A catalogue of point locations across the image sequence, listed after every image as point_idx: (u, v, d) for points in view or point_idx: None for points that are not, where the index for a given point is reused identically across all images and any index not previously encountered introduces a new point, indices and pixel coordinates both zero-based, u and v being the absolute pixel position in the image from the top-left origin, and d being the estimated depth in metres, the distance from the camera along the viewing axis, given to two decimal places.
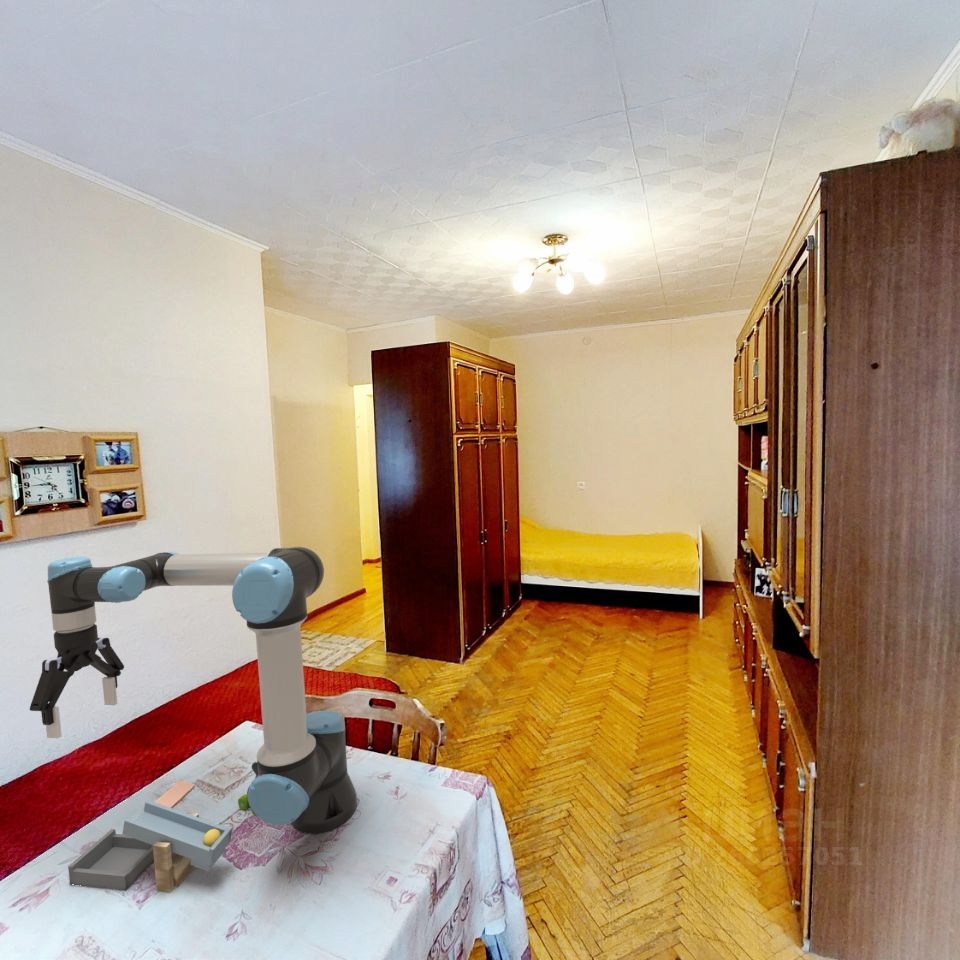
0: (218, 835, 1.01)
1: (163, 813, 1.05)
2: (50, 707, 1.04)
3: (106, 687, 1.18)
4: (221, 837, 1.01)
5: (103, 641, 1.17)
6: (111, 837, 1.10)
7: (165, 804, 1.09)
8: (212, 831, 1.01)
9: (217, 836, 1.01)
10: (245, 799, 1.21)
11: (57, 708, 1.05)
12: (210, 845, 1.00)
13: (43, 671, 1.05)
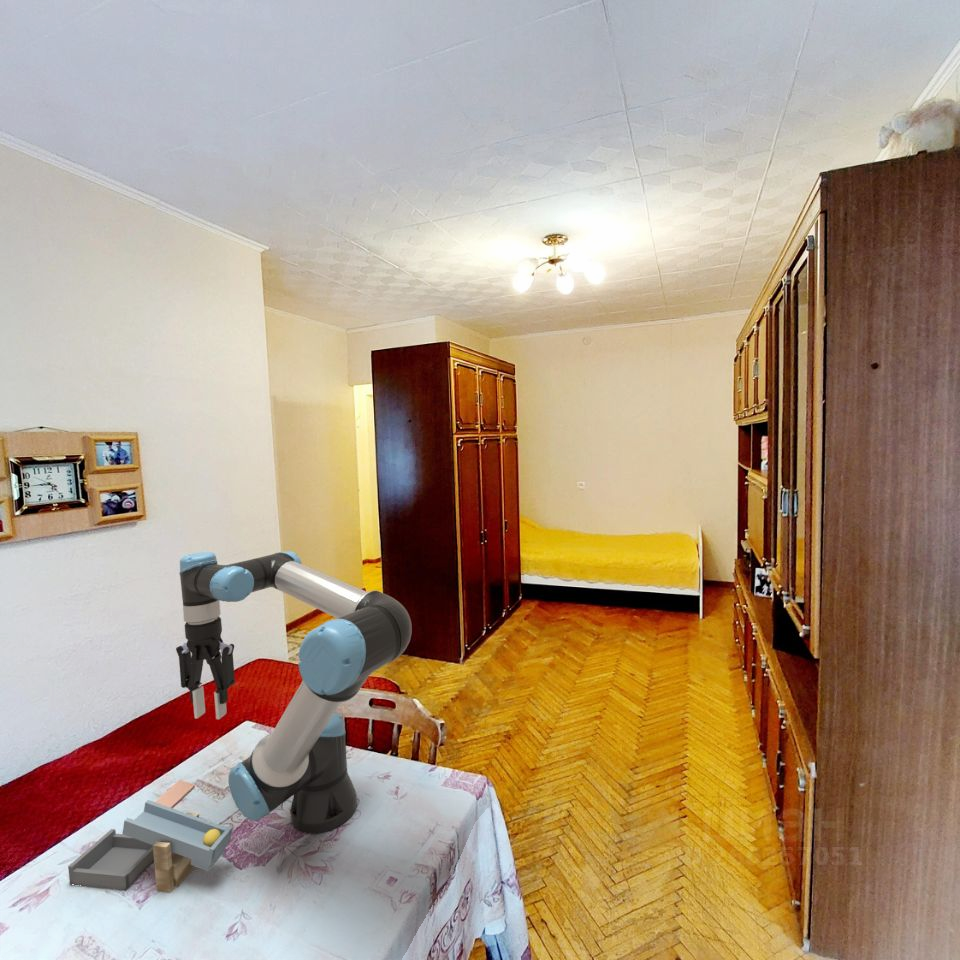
0: (218, 835, 1.01)
1: (163, 813, 1.05)
2: (189, 689, 1.17)
3: None
4: (221, 837, 1.01)
5: None
6: (111, 837, 1.10)
7: (165, 804, 1.09)
8: (212, 831, 1.01)
9: (217, 836, 1.01)
10: None
11: (194, 692, 1.17)
12: (210, 845, 1.00)
13: None
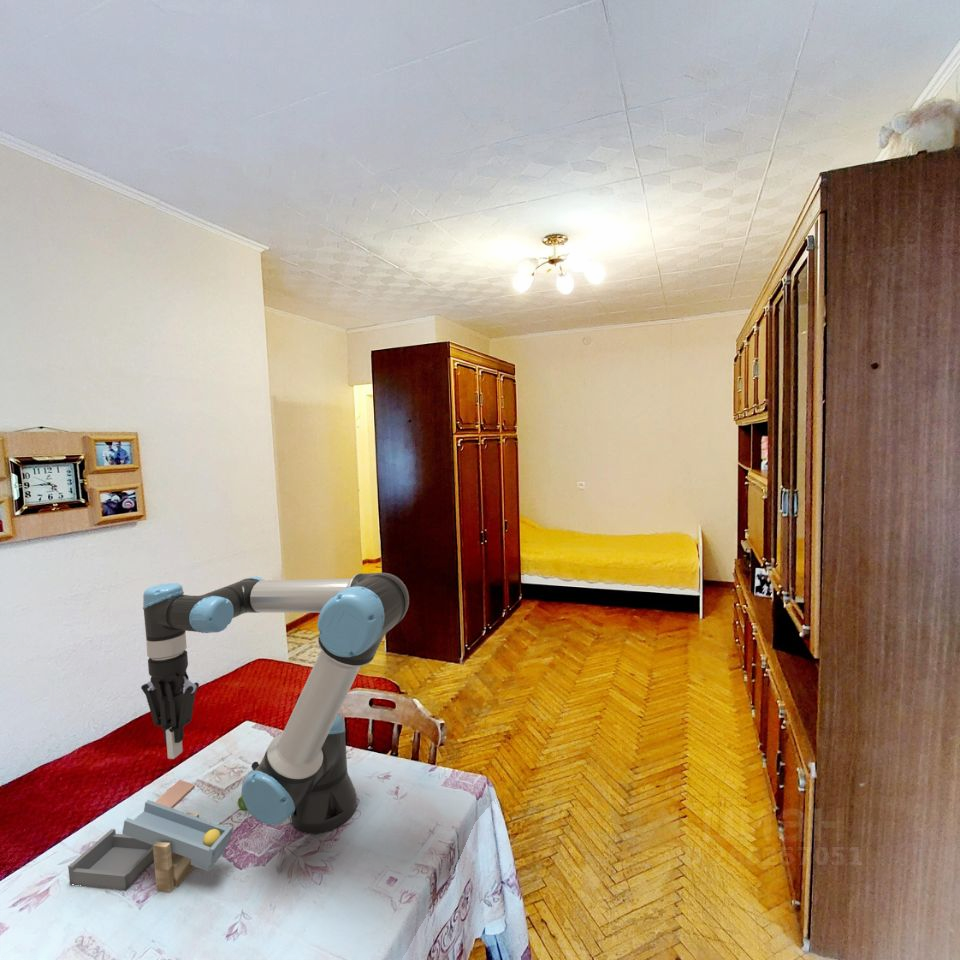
0: (218, 835, 1.01)
1: (163, 813, 1.05)
2: (162, 728, 1.12)
3: None
4: (221, 837, 1.01)
5: None
6: (111, 837, 1.10)
7: (165, 804, 1.09)
8: (212, 831, 1.01)
9: (217, 836, 1.01)
10: None
11: (167, 731, 1.11)
12: (210, 845, 1.00)
13: None
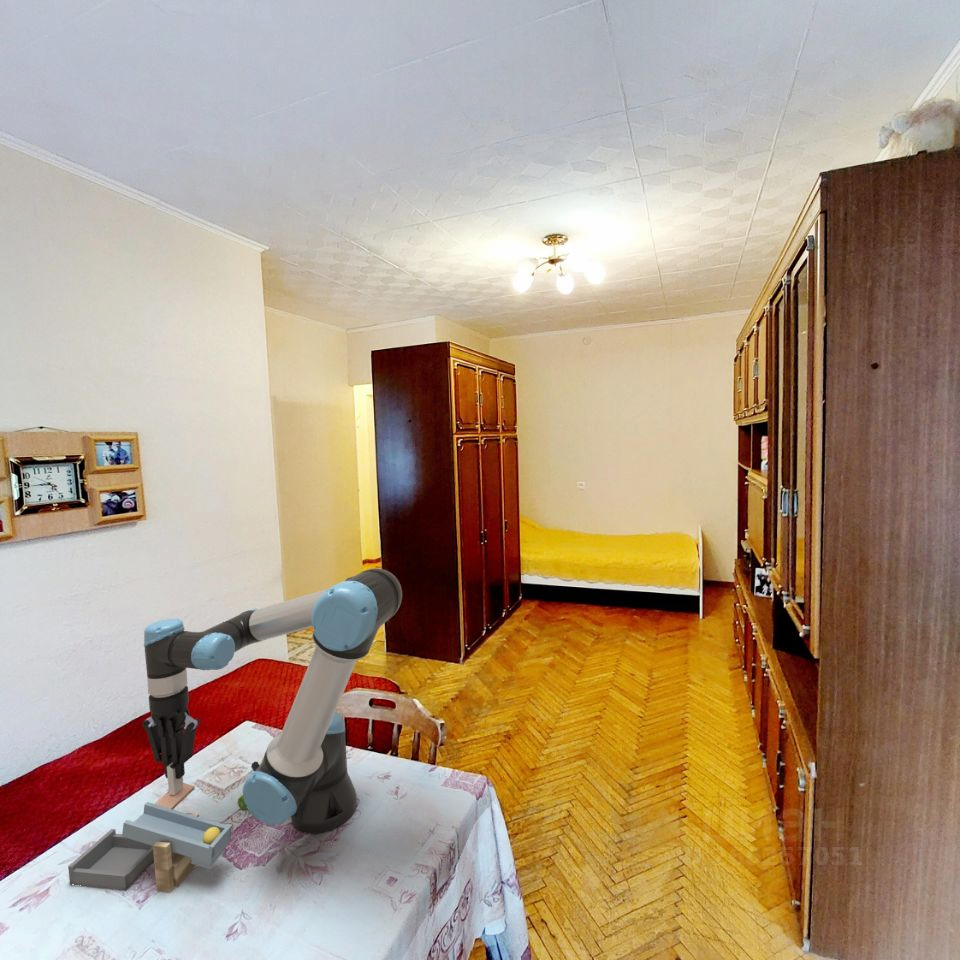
0: (218, 833, 1.01)
1: (163, 815, 1.05)
2: (163, 764, 1.12)
3: None
4: (221, 834, 1.01)
5: (189, 723, 1.11)
6: (111, 837, 1.10)
7: (165, 806, 1.09)
8: (211, 829, 1.01)
9: (217, 834, 1.01)
10: None
11: (168, 768, 1.12)
12: (210, 843, 1.00)
13: None
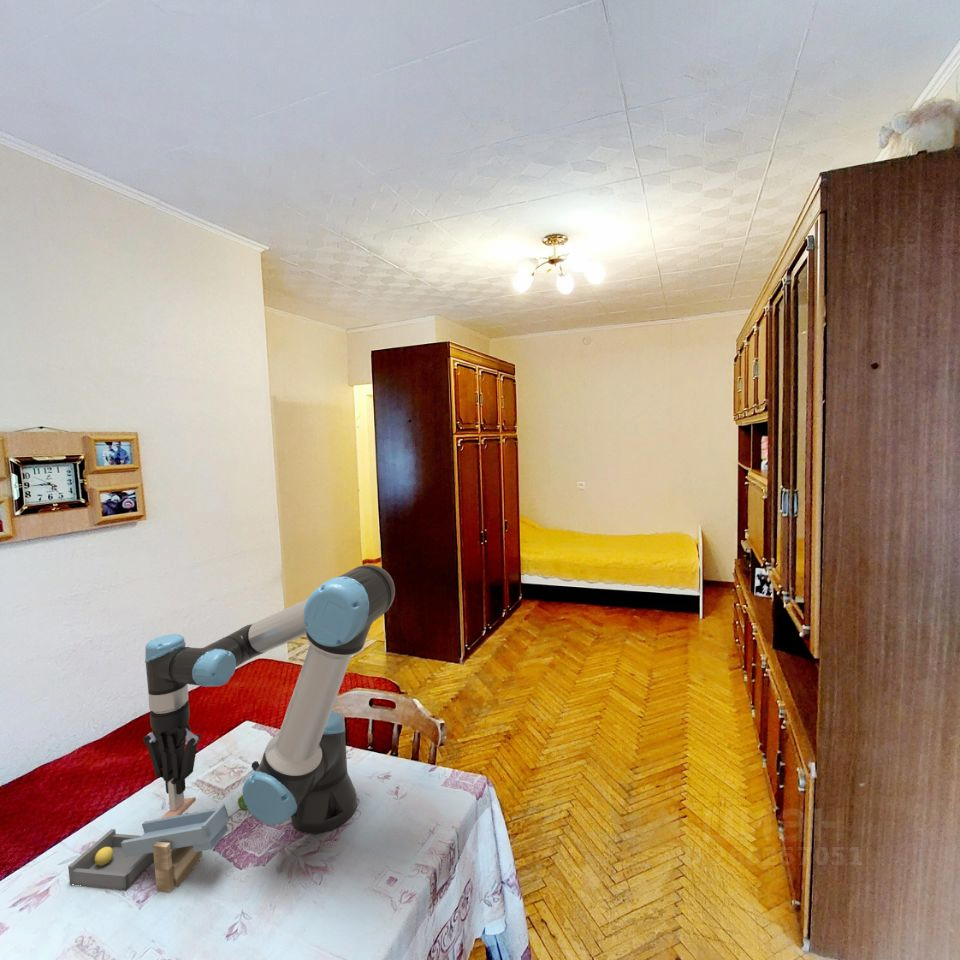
0: None
1: (161, 825, 1.06)
2: (164, 779, 1.12)
3: None
4: (213, 814, 1.01)
5: (190, 739, 1.11)
6: (111, 837, 1.10)
7: None
8: (110, 857, 1.06)
9: None
10: None
11: (169, 783, 1.12)
12: (97, 864, 1.05)
13: None
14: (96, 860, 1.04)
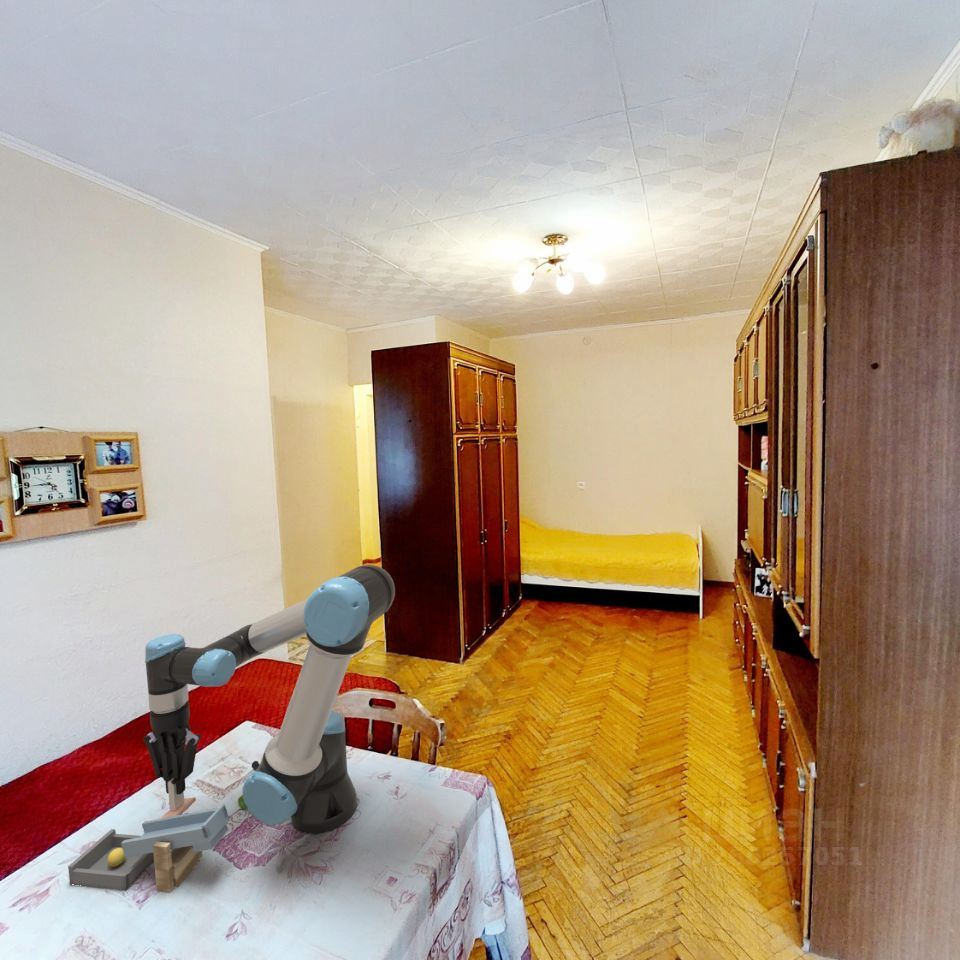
0: None
1: (161, 825, 1.06)
2: (164, 779, 1.12)
3: None
4: (213, 814, 1.01)
5: (190, 739, 1.11)
6: (111, 837, 1.10)
7: None
8: None
9: None
10: None
11: (169, 783, 1.12)
12: (108, 860, 1.04)
13: None
14: (111, 862, 1.04)
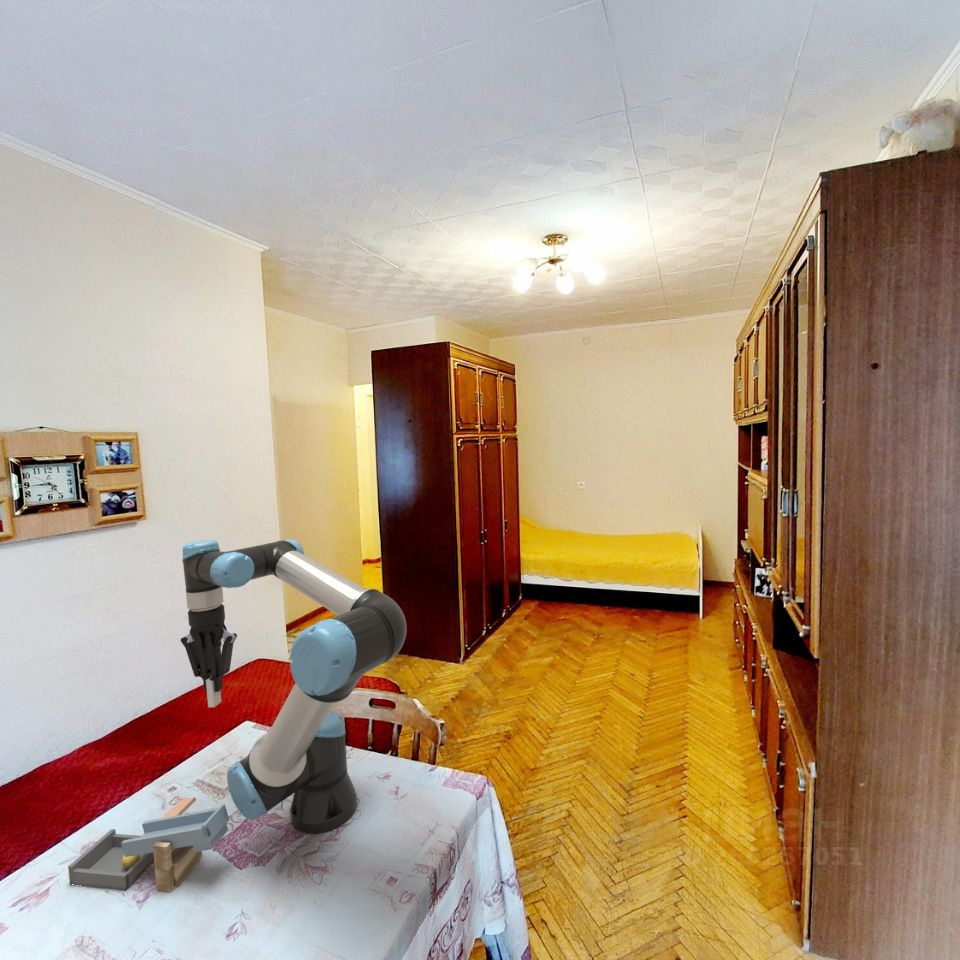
0: None
1: (161, 825, 1.06)
2: (202, 678, 1.17)
3: None
4: (213, 814, 1.01)
5: None
6: (111, 837, 1.10)
7: None
8: None
9: None
10: None
11: (207, 681, 1.17)
12: (128, 862, 1.03)
13: None
14: (124, 866, 1.03)
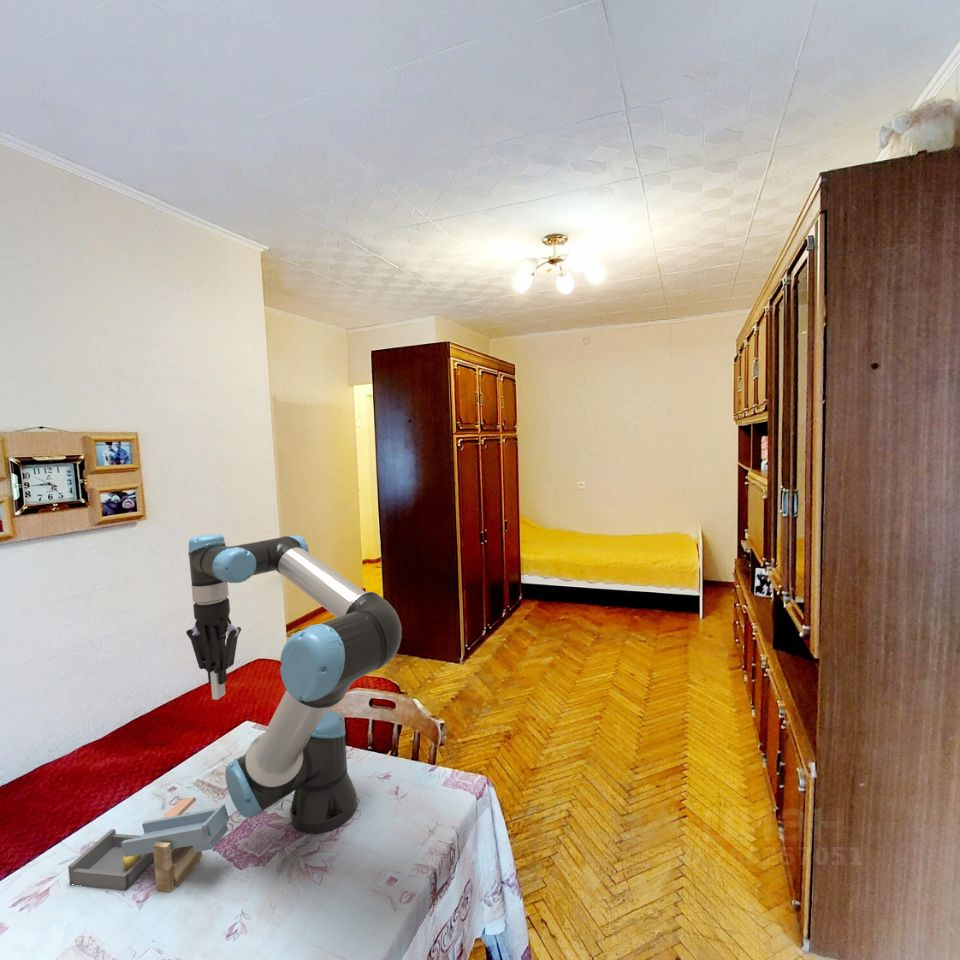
0: None
1: (161, 825, 1.06)
2: (207, 670, 1.18)
3: None
4: (213, 814, 1.01)
5: None
6: (111, 837, 1.10)
7: None
8: None
9: None
10: None
11: (212, 673, 1.18)
12: (129, 863, 1.03)
13: None
14: (125, 866, 1.03)
